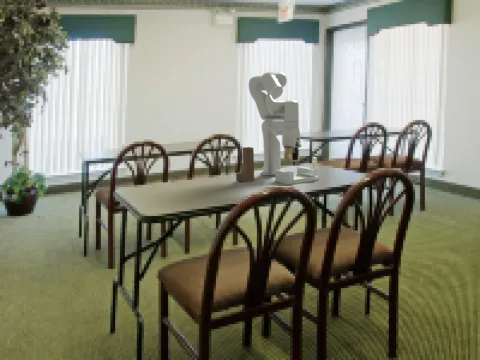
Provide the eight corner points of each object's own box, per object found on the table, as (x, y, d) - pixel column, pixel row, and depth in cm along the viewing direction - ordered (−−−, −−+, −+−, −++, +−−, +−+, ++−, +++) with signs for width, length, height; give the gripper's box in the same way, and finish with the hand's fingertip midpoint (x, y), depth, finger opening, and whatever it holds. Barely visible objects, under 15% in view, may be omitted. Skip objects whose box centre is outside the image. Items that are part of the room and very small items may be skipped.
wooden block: (240, 182, 260) (239, 149, 257) (236, 181, 264) (235, 148, 260) (254, 180, 264) (253, 147, 261) (250, 179, 268) (249, 146, 265)
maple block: (284, 160, 258) (284, 147, 256) (293, 159, 261) (293, 146, 260) (290, 161, 253) (290, 148, 252) (299, 160, 257) (299, 147, 255)
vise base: (275, 181, 261) (275, 170, 260) (304, 176, 271) (304, 166, 270) (289, 184, 251) (289, 173, 250) (318, 179, 261) (318, 168, 260)
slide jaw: (297, 173, 268) (297, 158, 267) (309, 171, 273) (309, 156, 271) (311, 176, 258) (311, 160, 257) (323, 174, 263) (323, 158, 261)
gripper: (275, 124, 259) (276, 158, 262) (296, 125, 245) (296, 161, 248) (287, 123, 263) (287, 157, 266) (307, 124, 249) (307, 160, 252)
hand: (291, 159), depth 257 cm, fingers closed on maple block, 5 cm apart
